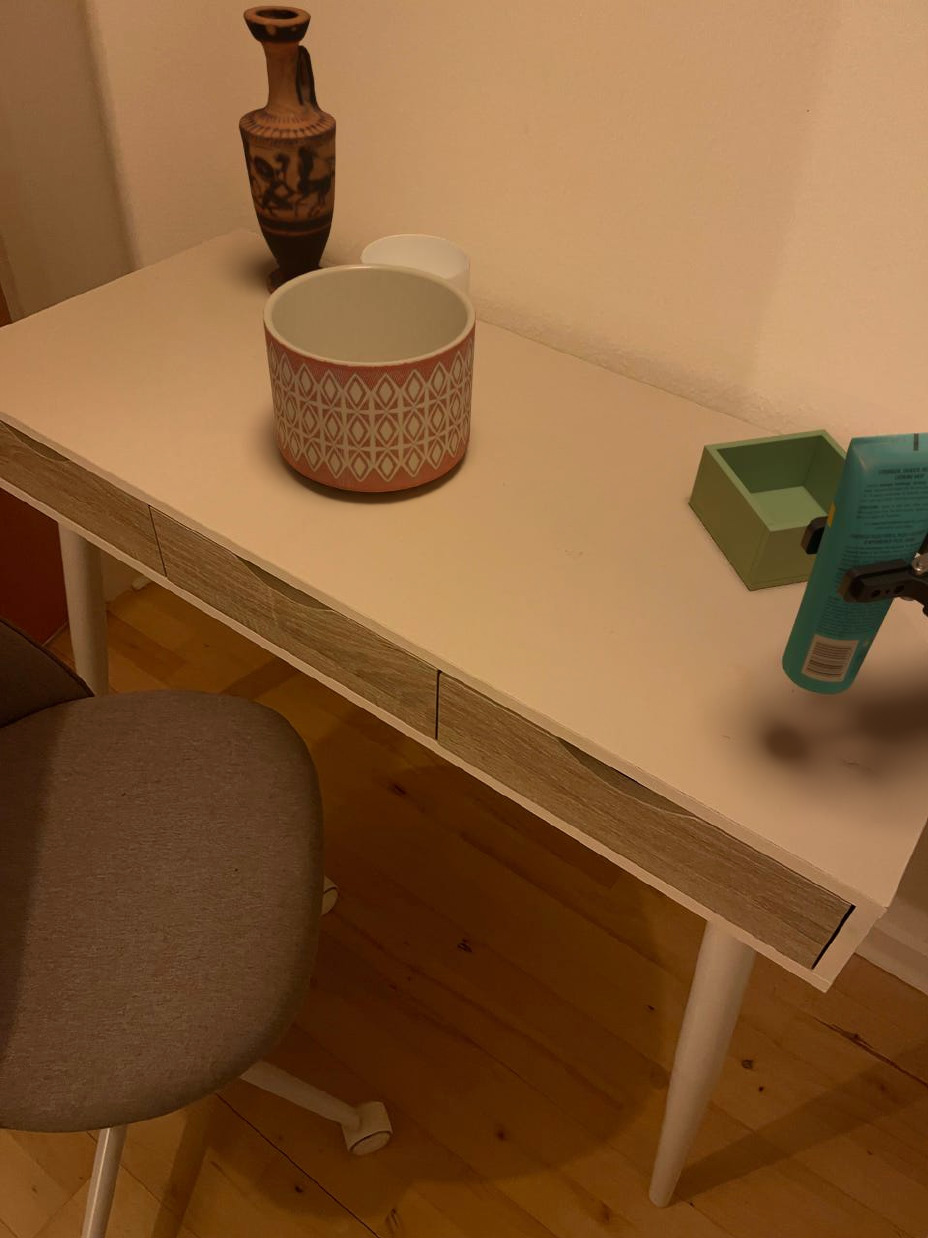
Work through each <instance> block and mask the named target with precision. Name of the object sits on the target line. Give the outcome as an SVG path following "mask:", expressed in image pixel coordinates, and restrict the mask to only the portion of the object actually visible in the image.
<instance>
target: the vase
mask: <svg viewBox="0 0 928 1238" xmlns="http://www.w3.org/2000/svg"><path fill="white" fill-rule="evenodd" d="M242 16H243V19H244V21H245V24H246V27H247V28H248V30H249V32H250V34H251V36H252V37H253V38H254V40H256V41H257V42H259V43H260V45H261V46H262V50H263V53H264V56H265V63H266V65H265V66H266V74H267V83H268V84H267V85H268V86H267V87H268V94H267V95H268V96H267V102H266V105H265V106H263V107H261V108H257V109H254V110H250V111H248V112H247V113H245V114H244V115H242V116H241V117H240V118H239V121H238V130H239V133H240V138H241V142H242V147H243V153H244V161H245V165H246V170H247V176H248V177H247V178H248V182H249V188H250V195H251V199H252V203H253V208H254V211H255V215H256V218H257V222H258V226H259V229H260V231H261V234H262V236H263V239H264V240H265V243H266V244H267V247H268V249H269V251H270V252H271V254H272V255H273V258H274V259H275V262H276V263H277V265H278V267H277V268H275V269H274V270H272V271H271V273H270V274H269V275H268V278H267V288H268V290H269V292H270V293H271V294H273V293H274V292H275V291H276V290H277V289H278V288H279V287H281V286H282V285H283V284H285V283H286V282H288V281H290V280H292V279H294V278H296V277H298V276H301V275H303V274H306V273H309V272H312V271H316V270H319V269H323V268H324V267H323V266H321V265H320V264H321V260H322V257H323V254H324V252H325V249H326V246H327V243H328V240H329V238H330V234H331V229H332V223H333V217H334V211H335V199H336V166H337V165H336V163H337V159H336V158H337V157H336V156H337V153H336V152H337V151H336V150H337V147H336V146H337V144H336V143H337V142H336V138H337V120H336V118H335V117H334V116H332V115H331V114H330V113H328V112H326V111H324V110H322V108H321V106H320V105H319V103H318V100H317V95H316V89H315V88H316V86H315V75H314V71H313V65H312V58H311V54H310V52H309V50H308V49H307V47H305V46H304V45H301V44H300V43H301V41H303V39H304V38H305V36H306V34H307V32H308V29H309V26H310V22H311V19H312V18H311V17H312V16H311V14H310V12H308V11H306V10H305V9H302V8H299V7H293V6H285V5H284V6H283V5H260V6H253V7H250V8H248V9H246V10H244V12H243V14H242Z"/></svg>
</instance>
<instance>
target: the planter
mask: <svg viewBox="0 0 928 1238" xmlns="http://www.w3.org/2000/svg"><path fill="white" fill-rule="evenodd" d="M476 322H477V321H476V310H475V306H474V303H473V301H472V300H471V298H470V296H469V297H468V296H467V295H466V294H465V293H464V292H463V291H462V290H461V289H460V288H459V287H457V286H456V285H454V284H453V283H451V282H449V281H447V280H445V279H443V278H441V277H439V276H437V275H434V274H431V273H429V272H425V271H422V270H418V269H414V268H409V267H403V266H397V265H388V264H360V263H351V264H341V265H334V266H329V267H323V269H319V270H316V271H312V272H309V273H306V274H303V275H301V276H298V277H296V278H294V279H292V280H290V281H288V282H286V283H285V284H283V285H282V286H281V287H279V288H278V289H277V290H276V291H275V292H274V293H271V294H270V296H269V297H268V299H267V300H266V302H265V305H264V308H263V311H262V323H263V330H264V331H263V332H264V339H265V346H266V347H265V348H266V354H267V355H266V356H267V364H268V372H269V380H270V387H271V396H272V406H273V413H274V421H275V430H276V438H277V445H278V447H279V450H280V453H281V454H282V456H283V457H284V459H285V461H287V463H288V464H289V465H290V466H291V467H292V468H293V469H295V470H296V471H297V472H298V473H300V474H301V475H303V476H305V477H306V478H308V479H311V480H312V481H314V482H317V483H320V484H322V485H325V486H327V487H330V488H335V489H340V490H344V491H352V492H359V493H381V492H394V491H400V490H406V489H410V488H414V487H417V486H421V485H423V484H427V483H429V482H431V481H434V480H436V479H438V478H439V477H441V476H443V475H444V474H446V473H448V472H449V471H450V470H451V469H453V468H454V467H455V466H457V464H458V463H459V462H460V461H461V459H463V457H464V455H465V453H466V451H467V450H468V446H469V442H470V434H471V416H472V397H473V396H472V395H473V379H474V377H473V375H474V359H475V358H474V357H475V339H476Z"/></svg>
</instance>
